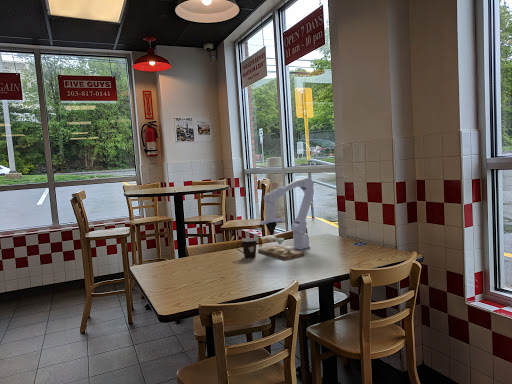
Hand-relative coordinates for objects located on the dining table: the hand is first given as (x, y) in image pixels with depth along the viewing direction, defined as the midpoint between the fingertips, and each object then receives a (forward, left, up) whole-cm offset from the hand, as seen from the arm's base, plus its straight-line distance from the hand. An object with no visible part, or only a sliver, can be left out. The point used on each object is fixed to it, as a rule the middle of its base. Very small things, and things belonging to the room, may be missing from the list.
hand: (271, 234), depth 230 cm
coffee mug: (+18, 0, -10) cm, 21 cm away
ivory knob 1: (0, 0, -4) cm, 4 cm away
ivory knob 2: (0, +16, -8) cm, 18 cm away
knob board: (0, +8, -10) cm, 13 cm away
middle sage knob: (0, +8, -4) cm, 9 cm away
